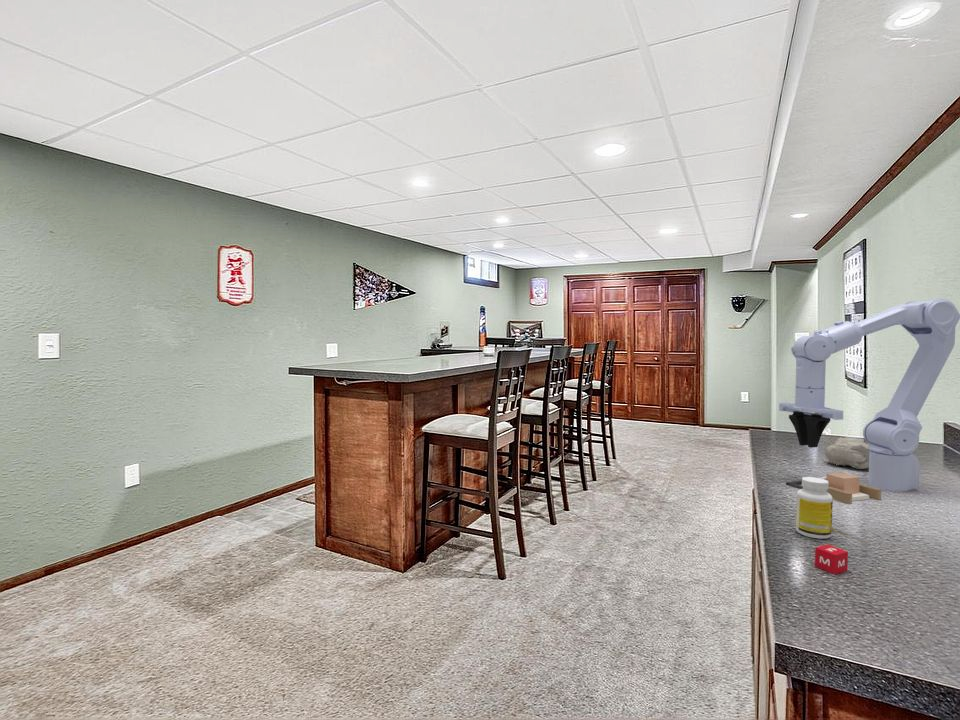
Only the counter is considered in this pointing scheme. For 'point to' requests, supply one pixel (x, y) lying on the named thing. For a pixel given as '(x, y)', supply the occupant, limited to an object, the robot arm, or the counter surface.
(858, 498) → the cream low channel
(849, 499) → the track
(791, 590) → the counter surface
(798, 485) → the pit
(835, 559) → the red letter cube
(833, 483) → the block
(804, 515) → the supplement bottle
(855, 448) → the fossil replica
